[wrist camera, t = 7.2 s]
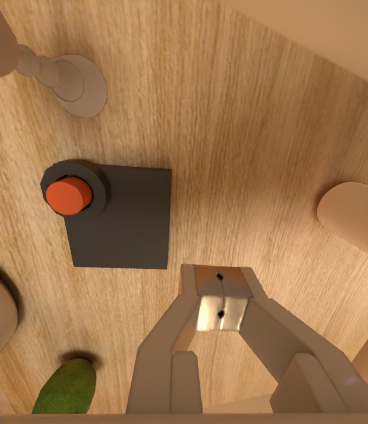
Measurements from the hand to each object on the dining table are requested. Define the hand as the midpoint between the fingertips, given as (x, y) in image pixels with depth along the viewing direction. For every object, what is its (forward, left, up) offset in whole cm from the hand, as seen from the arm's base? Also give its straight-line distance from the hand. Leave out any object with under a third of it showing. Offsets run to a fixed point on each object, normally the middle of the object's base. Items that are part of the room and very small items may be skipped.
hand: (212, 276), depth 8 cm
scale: (+5, -8, -15) cm, 17 cm away
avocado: (+34, -17, -15) cm, 41 cm away
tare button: (+1, -12, -12) cm, 17 cm away
